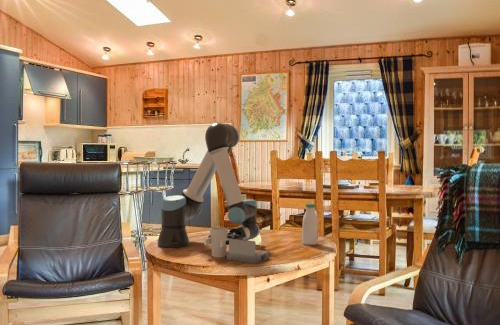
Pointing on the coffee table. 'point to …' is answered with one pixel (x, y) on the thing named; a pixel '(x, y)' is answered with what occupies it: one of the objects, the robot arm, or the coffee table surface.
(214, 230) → the cup
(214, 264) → the coffee table surface
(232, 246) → the grey holder block
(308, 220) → the milk bottle
